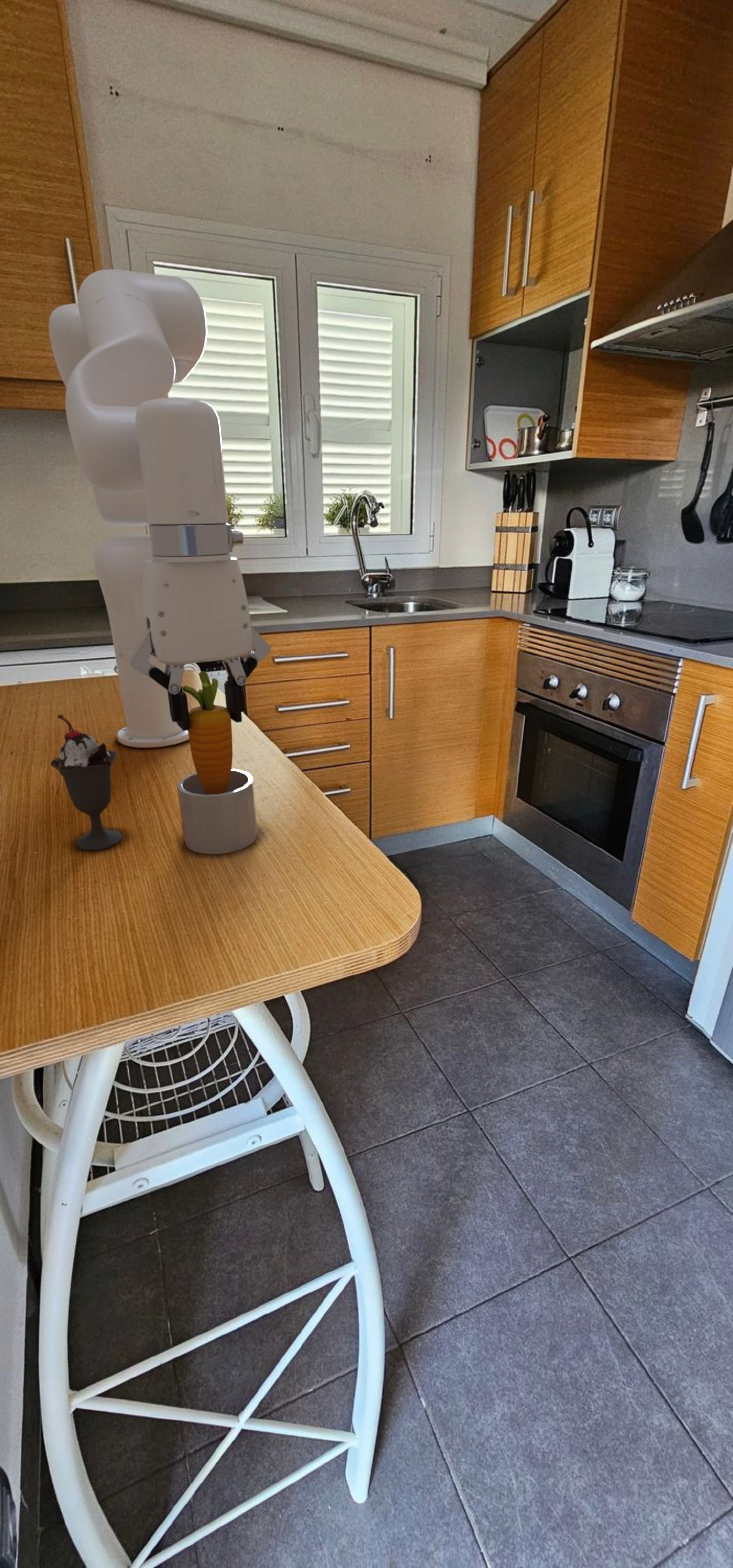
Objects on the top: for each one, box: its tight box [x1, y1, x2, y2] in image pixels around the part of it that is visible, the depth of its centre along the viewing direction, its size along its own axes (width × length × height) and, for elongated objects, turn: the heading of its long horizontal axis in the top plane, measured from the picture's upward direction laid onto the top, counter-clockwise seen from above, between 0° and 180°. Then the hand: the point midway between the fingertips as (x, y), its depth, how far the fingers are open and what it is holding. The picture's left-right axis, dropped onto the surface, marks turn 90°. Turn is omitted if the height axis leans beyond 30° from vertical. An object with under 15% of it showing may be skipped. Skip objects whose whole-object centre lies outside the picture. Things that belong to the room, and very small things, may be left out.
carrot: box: [182, 671, 234, 795], centre depth 74 cm, size 5×5×15 cm
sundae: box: [50, 714, 123, 851], centre depth 75 cm, size 7×7×15 cm
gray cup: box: [176, 768, 258, 855], centre depth 77 cm, size 8×8×7 cm
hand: (209, 721), depth 73 cm, fingers closed on carrot, 5 cm apart
